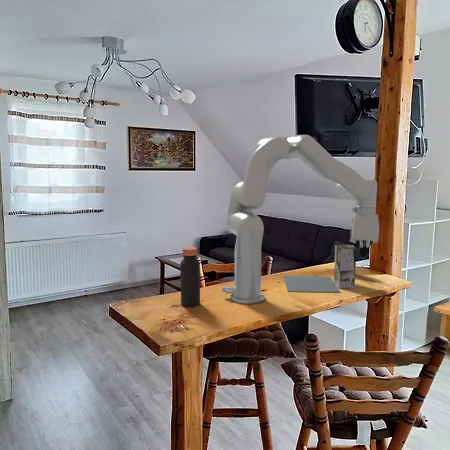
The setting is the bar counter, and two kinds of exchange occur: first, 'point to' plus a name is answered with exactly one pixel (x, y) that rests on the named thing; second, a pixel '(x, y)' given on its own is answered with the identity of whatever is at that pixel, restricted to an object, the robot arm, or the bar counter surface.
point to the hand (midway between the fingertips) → (363, 256)
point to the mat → (310, 284)
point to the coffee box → (345, 266)
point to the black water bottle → (190, 278)
